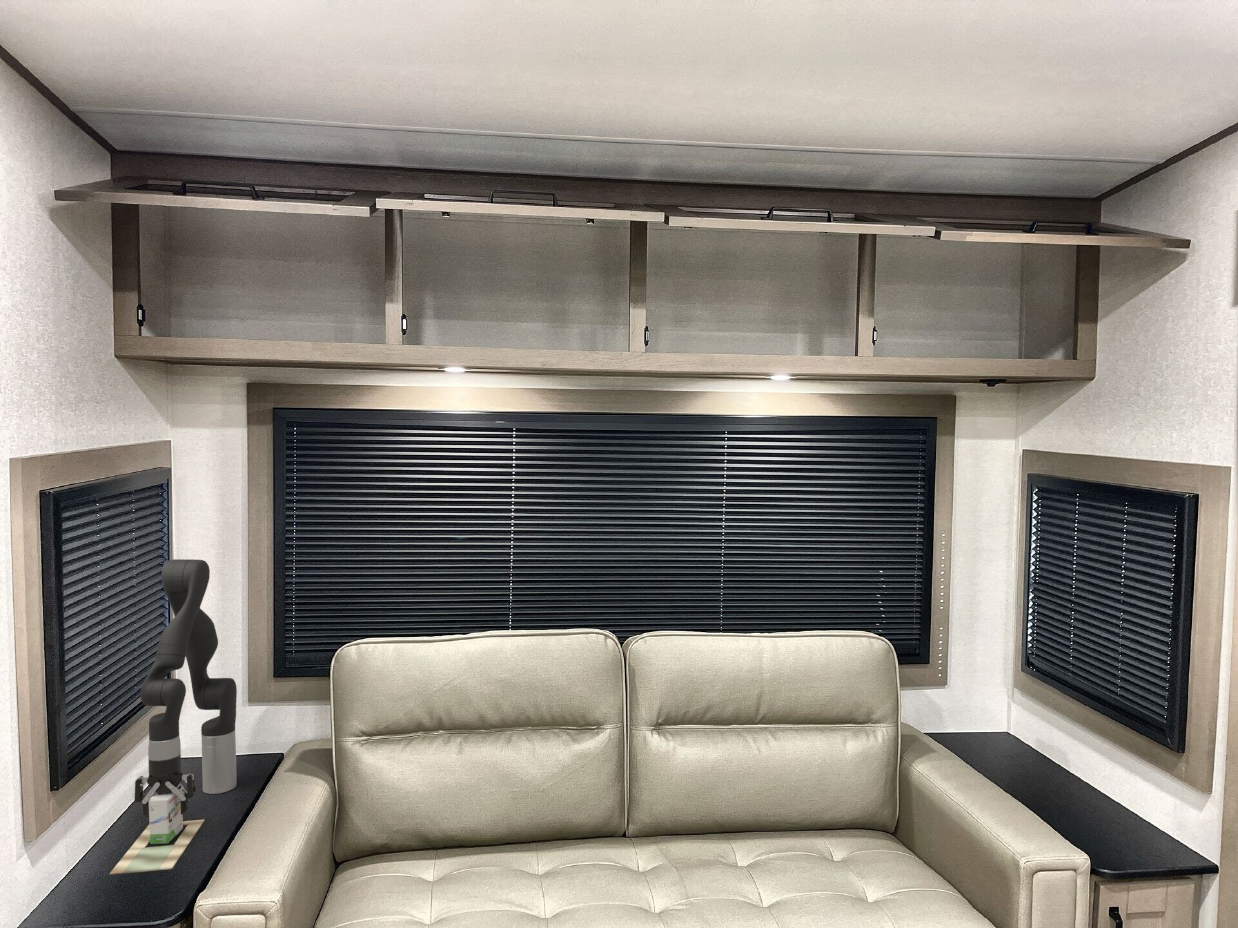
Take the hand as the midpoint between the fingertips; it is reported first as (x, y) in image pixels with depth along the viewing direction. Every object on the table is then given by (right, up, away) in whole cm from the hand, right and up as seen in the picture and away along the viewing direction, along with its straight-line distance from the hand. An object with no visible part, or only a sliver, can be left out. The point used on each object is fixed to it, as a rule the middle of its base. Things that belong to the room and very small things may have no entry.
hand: (165, 814), depth 221 cm
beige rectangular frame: (+1, -6, -5) cm, 8 cm away
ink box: (0, -6, 0) cm, 6 cm away
